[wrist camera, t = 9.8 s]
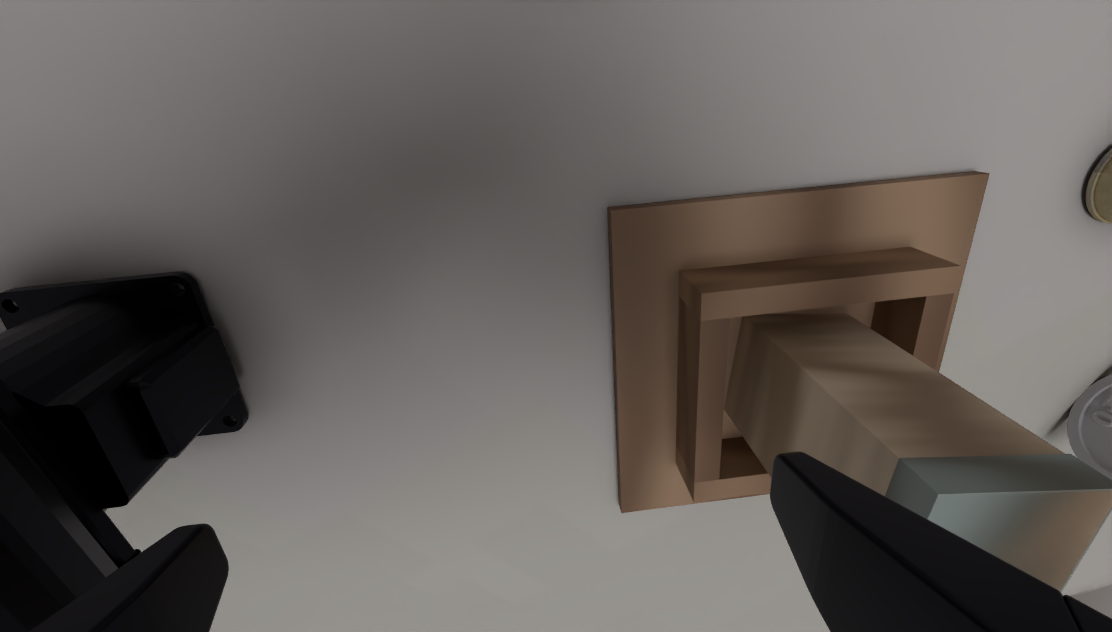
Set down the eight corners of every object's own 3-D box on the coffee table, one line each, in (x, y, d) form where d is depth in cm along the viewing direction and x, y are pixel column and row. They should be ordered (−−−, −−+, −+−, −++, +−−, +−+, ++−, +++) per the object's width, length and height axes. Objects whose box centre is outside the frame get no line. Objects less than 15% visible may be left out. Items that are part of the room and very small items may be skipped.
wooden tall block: (722, 409, 22) (877, 635, 13) (741, 312, 20) (938, 494, 11) (821, 408, 22) (1040, 626, 13) (849, 313, 21) (1124, 488, 11)
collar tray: (618, 503, 24) (633, 555, 22) (607, 207, 19) (625, 226, 16) (903, 467, 25) (952, 513, 22) (975, 171, 19) (1053, 184, 17)
